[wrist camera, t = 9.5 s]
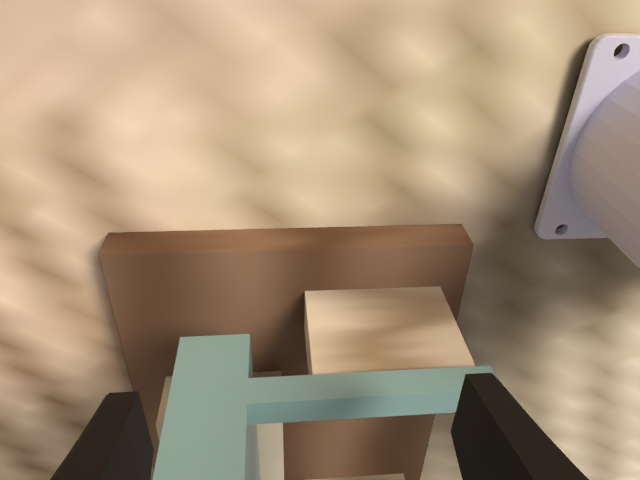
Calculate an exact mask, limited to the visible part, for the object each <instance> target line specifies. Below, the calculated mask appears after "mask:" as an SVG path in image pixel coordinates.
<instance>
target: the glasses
mask: <svg viewBox="0 0 640 480" xmlns="http://www.w3.org/2000/svg"><path fill="white" fill-rule="evenodd" d="M476 373H493V374H494V375H495V376H496V374H495V371H494V369H493V367H492V365H490V366H471V367H452V368H433V369H413V370H394V371H375V372H356V373H337V374H317V375H298V376H279V377H260V378H253V369H252V355H251V342H250V334H237V335H214V336H192V337H180V340H179V346H178V351H177V356H176V361H175V366H174V371H173V376H172V381H171V387H170V392H169V397H168V402H167V407H166V412H165V417H164V423H163V428H162V433H161V438H160V443H159V448H158V453H157V458H156V464H155V469H154V474H153V479H152V480H261V476H260V463H259V450H258V436H257V424H269V423H286V422H303V421H320V420H337V419H353V418H370V417H387V416H404V415H421V414H437V413H454V412H456V409H457V405H458V401H459V397H460V393H461V390H462V386H463V382H464V378H465V374H476ZM496 378H497V376H496ZM497 379H498V378H497Z"/></svg>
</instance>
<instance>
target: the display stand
mask: <svg viewBox="0 0 640 480" xmlns="http://www.w3.org/2000/svg"><path fill="white" fill-rule="evenodd" d="M472 250H473V243H472V241H471V240H470V238H469V236H468V234H467V233H466V231H465V229H464V228H463V226H462V224H450V225H410V226H369V227H329V228H288V229H248V230H207V231H167V232H126V233H109V234H108V236H107V238H106V240H105V242H104V245H103V247H102V249H101V251H100V253H99V259H100V263H101V267H102V271H103V275H104V279H105V282H106V286H107V290H108V294H109V298H110V302H111V306H112V309H113V313H114V317H115V321H116V325H117V329H118V332H119V336H120V340H121V344H122V348H123V352H124V356H125V359H126V363H127V367H128V371H129V375H130V379H131V383H132V386H133V390H134V392H137V391H139V395H140V399H141V403H142V407H143V410H144V414H145V418H146V422H147V426H148V430H149V434H150V437H151V441H152V445H153V449H154V452H153V460H152V464H153V467H154V469H155V464H156V458H157V453H158V448H159V443H160V438H161V433H162V428H163V423H164V417H165V412H166V407H167V402H168V397H169V392H170V387H171V381H172V376H173V371H174V366H175V361H176V356H177V351H178V346H179V340H180V337H192V336H214V335H237V334H250V342H251V355H252V369H253V378H260V377H279V376H298V375H317V374H337V373H356V372H375V371H394V370H413V369H433V368H452V367H471V366H475V364H474V361H473V359H472V357H471V354H470V352H469V350H468V348H467V345H466V343H465V341H464V339H463V336H462V334H461V332H460V330H459V327H458V325H457V323H456V319H457V315H458V311H459V306H460V302H461V298H462V293H463V289H464V284H465V280H466V276H467V271H468V267H469V263H470V258H471V254H472ZM434 415H435V414H421V415H404V416H387V417H370V418H353V419H337V420H320V421H303V422H286V423H269V424H257V436H258V450H259V463H260V476H261V480H420V477H421V472H422V468H423V464H424V459H425V455H426V450H427V446H428V442H429V437H430V433H431V429H432V424H433V420H434Z"/></svg>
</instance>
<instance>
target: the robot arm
mask: <svg viewBox="0 0 640 480" xmlns="http://www.w3.org/2000/svg"><path fill="white" fill-rule="evenodd" d="M620 44H623V49H622V50H621V52H620V53H619V54H618V55H617V56H614V51H615V49H616V47H617V46H619V45H620ZM562 224H563V226H562V227H561V228H560V229H557V230H556V228H557V227H558V226H559V225H562ZM534 230H535V232H536V234H537V235H538V236H539V237H540V238H541V239H546V240H548V239H584V238H609V239H610V240H611V241H612V242H613V243H614V244H615V245H616V246H617V247H618V248H619V249H620V250H621V251H622V252H623V253H624V254H625V255H626V256H627V257H628V258H629V259H630V260H631V261H632V262H633V263H634V264H635V265H636V266H637V267H638V268H639V269H640V33H605V34H601V35H599V36H597V37H596V38H594V40H593V41H592V42H591V43H590V45H589V47H588V49H587V52H586V56H585V59H584V62H583V66H582V69H581V72H580V76H579V79H578V82H577V86H576V89H575V92H574V96H573V99H572V102H571V106H570V109H569V112H568V116H567V119H566V122H565V126H564V129H563V132H562V136H561V139H560V142H559V146H558V149H557V152H556V156H555V159H554V162H553V166H552V169H551V172H550V176H549V179H548V182H547V186H546V189H545V192H544V196H543V199H542V202H541V206H540V209H539V212H538V216H537V219H536V222H535V226H534ZM451 434H452V438H453V443H454V447H455V451H456V455H457V459H458V463H459V467H460V471H461V475H462V478H463V480H589V479H588V478H587V477H586V476H585V475H584V474H583V473H582V472H581V471H580V470H579V469H578V468H577V467H576V466H575V465H574V464H573V463H572V462H571V461H570V460H569V459H568V458H567V457H566V455H565V454H564V453H563V452H562V451H561V450H560V449H559V448H558V447H557V446H556V445H555V444H554V443H553V442H552V440H551V439H550V438H549V437H548V436H547V435H546V434H545V433H544V432H543V431H542V429H541V428H540V427H539V426H538V425H537V424H536V423H535V422H534V420H533V419H532V418H531V417H530V416H529V415H528V414H527V412H526V411H525V410H524V409H523V408H522V407H521V406H520V404H519V403H518V402H517V401H516V400H515V399H514V397H513V396H512V395H511V394H510V393H509V392H508V390H507V389H506V388H505V387H504V386H503V385H502V383H501V382H500V381H499V380H498V379H497V378H496V376H495V375H494V374H493V373H476V374H465V378H464V382H463V386H462V390H461V393H460V397H459V401H458V405H457V409H456V413H455V417H454V421H453V425H452V429H451ZM153 452H154V449H153V445H152V441H151V437H150V434H149V430H148V426H147V422H146V418H145V414H144V410H143V407H142V403H141V399H140V395H139V391H137V392H119V393H109V394H108V395H107V396H106V397H105V398H104V399H103V401H102V403H101V404H100V406H99V408H98V409H97V411H96V412H95V414H94V416H93V417H92V419H91V420H90V422H89V423H88V425H87V426H86V428H85V430H84V431H83V433H82V434H81V436H80V437H79V439H78V440H77V442H76V443H75V445H74V446H73V448H72V449H71V451H70V452H69V454H68V455H67V457H66V458H65V459H64V461H63V462H62V464H61V465H60V466H59V468H58V469H57V471H56V472H55V473H54V475H53V476H52V478H51V479H50V480H150V476H151V468H152V460H153Z"/></svg>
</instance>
